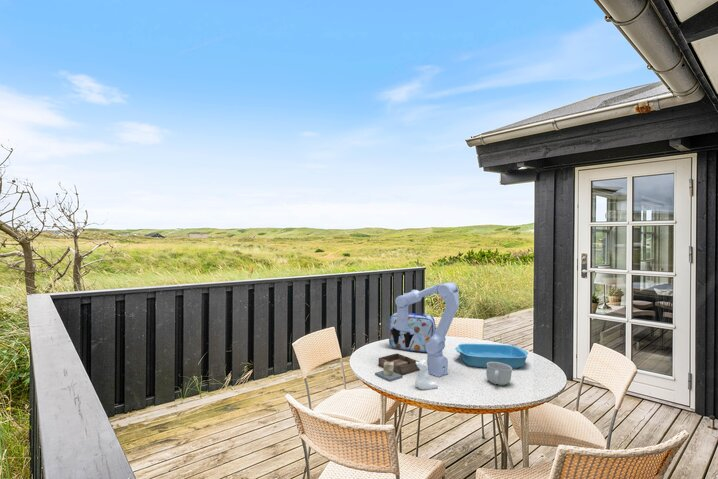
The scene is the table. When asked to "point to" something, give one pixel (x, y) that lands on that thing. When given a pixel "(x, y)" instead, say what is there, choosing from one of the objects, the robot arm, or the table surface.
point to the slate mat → (388, 378)
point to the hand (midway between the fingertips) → (401, 345)
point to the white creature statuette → (424, 377)
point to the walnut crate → (400, 363)
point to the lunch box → (422, 332)
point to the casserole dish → (492, 354)
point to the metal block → (388, 368)
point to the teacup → (498, 373)
